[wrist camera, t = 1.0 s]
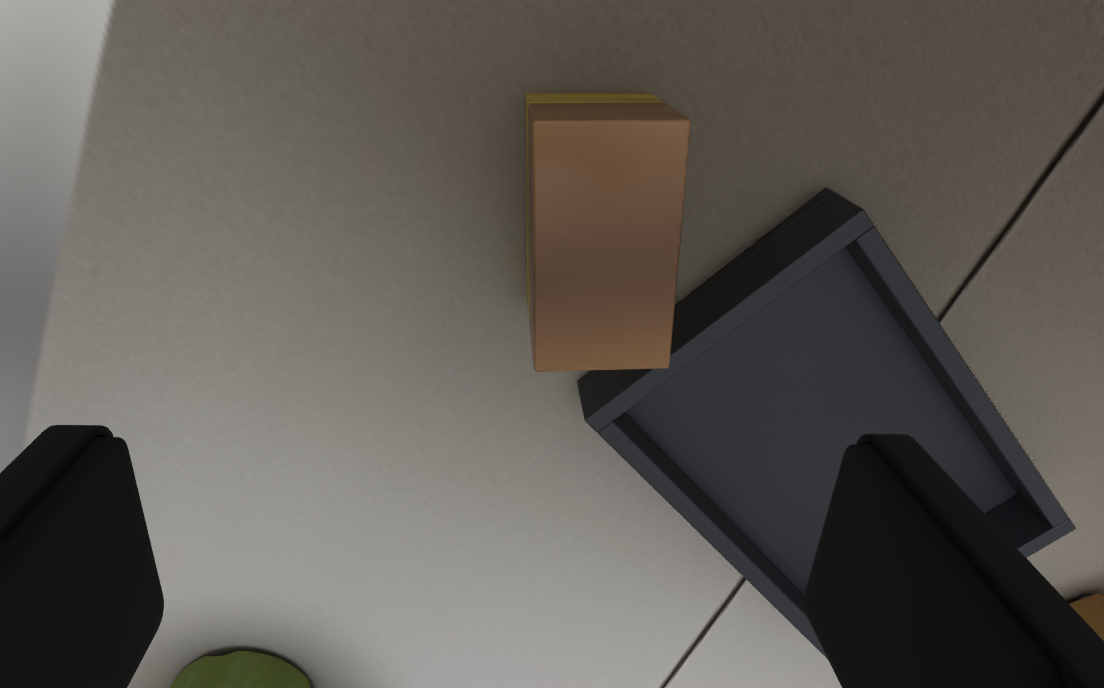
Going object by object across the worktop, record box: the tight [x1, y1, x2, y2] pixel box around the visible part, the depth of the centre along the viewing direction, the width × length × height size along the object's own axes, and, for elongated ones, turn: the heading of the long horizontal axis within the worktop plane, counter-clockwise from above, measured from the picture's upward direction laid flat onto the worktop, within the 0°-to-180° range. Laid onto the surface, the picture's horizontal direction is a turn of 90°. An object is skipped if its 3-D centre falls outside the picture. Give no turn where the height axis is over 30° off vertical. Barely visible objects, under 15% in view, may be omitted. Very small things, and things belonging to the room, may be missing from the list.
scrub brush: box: [525, 93, 691, 372], centre depth 25 cm, size 8×4×6 cm, turn 0°
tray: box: [577, 188, 1076, 659], centre depth 31 cm, size 20×13×3 cm, turn 41°
